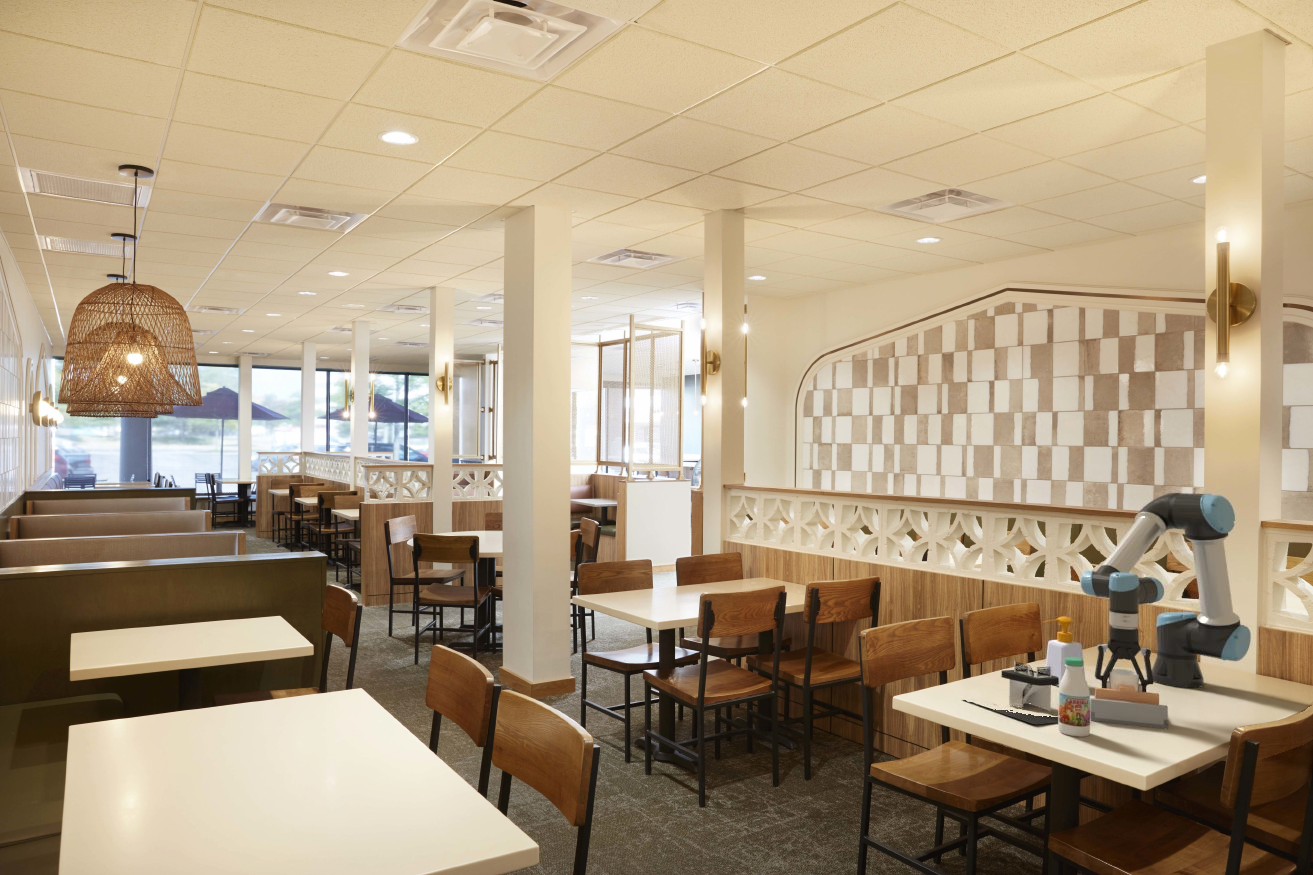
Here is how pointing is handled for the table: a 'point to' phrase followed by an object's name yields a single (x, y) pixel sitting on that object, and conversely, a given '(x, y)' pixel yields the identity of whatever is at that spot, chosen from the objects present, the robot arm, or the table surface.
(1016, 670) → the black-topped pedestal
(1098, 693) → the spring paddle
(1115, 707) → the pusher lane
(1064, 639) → the soap bottle
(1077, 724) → the milk bottle
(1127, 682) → the white cup
